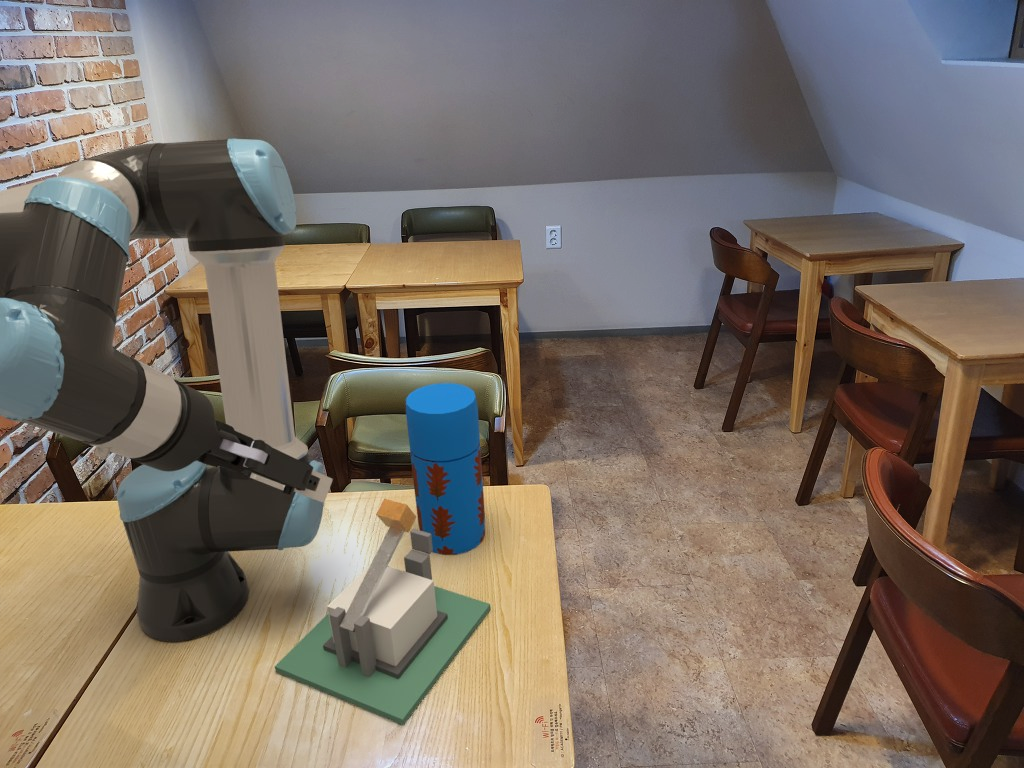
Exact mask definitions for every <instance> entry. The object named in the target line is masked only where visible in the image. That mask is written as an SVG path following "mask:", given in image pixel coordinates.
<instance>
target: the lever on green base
mask: <svg viewBox="0 0 1024 768" xmlns="http://www.w3.org/2000/svg"><path fill="white" fill-rule="evenodd" d="M409 534H410V541H411V548H412V549H411V550H410V551H409V552H408V553H407V554H406V555H405V556H404V557H403V560H404V569H405V571H404V570H401V569H397V568H395V567H393V566H387V568H386V570H385V572H384V574H383V576H382V578H381V580H380V582H379V584H378V586H377V588H376V590H375V592H374V594H373V596H372V598H371V600H370V602H369V604H368V607H367V609H366V611H365V613H364V615H363V616H361V617H360V618H359V619H358V620H357V621H356V622H355V623H354V628H355V633H354V632H351V631H349V630H346V629H343V628H341V627H340V625H341V623H342V621H343V619H344V617H345V615H346V613H347V611H348V609H349V607H350V605H351V603H352V601H353V599H354V597H355V595H356V593H357V591H358V589H359V587H360V585H361V583H362V581H363V579H364V577H365V575H366V573H367V571H368V569H369V567H370V565H371V563H370V564H368V566H367V567H366V568H364V570H362V571H361V573H359V574H358V576H356V577H355V578H354V579H353V580H352V581H351V582H350V583H349V585H347V586H346V587H345V588H344V589H343V590H342V591H341V592H340V593H339V594H338V595H337V596H336V597H335V598H334V599H333V600H332V601H331V602H329V604H327V606H326V609H327V614H326V615H325V616H324V617H322V619H321V620H320V621H319V622H318V623H317V624H316V625H314V627H313V628H312V629H310V631H309V632H308V633H306V634H305V636H304V637H303V638H301V640H299V642H298V643H297V644H295V646H293V648H292V649H291V650H289V652H287V653H286V654H285V656H283V658H282V659H281V660H279V662H277V663H276V665H274V669H275V673H277V674H280V675H282V676H284V677H287V678H289V679H291V680H294V681H296V682H298V683H301V684H304V685H305V686H308V687H311V688H313V689H315V690H318V691H320V692H323V693H324V694H327V695H330V696H332V697H334V698H337V699H339V700H342V701H344V702H345V703H346V702H347V703H348V704H351V705H353V706H356V707H358V708H360V709H363V710H366V711H368V712H370V713H372V714H375V715H377V716H380V717H382V718H384V719H387V720H389V721H392V722H395V724H398V725H400V726H401V725H402V726H405V724H406V723H407V721H408V720H409V719H410V717H412V715H413V713H414V712H415V711H416V709H417V708H418V707H419V705H420V704H421V702H423V700H424V699H425V697H426V696H427V695H428V693H429V692H430V690H432V688H433V687H434V685H435V684H436V683H437V682H438V680H439V679H440V677H441V676H442V675H443V673H444V672H445V671H446V669H447V668H448V667H449V665H450V664H451V663H452V662H453V660H454V659H455V658H456V656H457V655H458V654H459V652H460V651H461V650H462V648H463V647H464V646H465V644H466V643H467V641H468V640H469V639H470V638H471V637H472V635H473V634H474V633H475V631H476V630H477V628H478V627H479V626H480V625H481V623H482V621H483V620H484V619H485V617H486V616H487V615H488V614H489V612H490V611H491V609H492V607H491V603H489V602H486V601H482V600H479V599H475V598H472V597H470V596H467V595H464V594H460V593H458V592H454V591H450V590H448V589H444V588H442V587H438V586H435V581H434V580H433V576H432V573H433V572H432V565H431V556H430V555H431V554H432V553H434V552H433V546H432V537H431V534H430V533H427V532H423V531H420V530H419V529H416V528H413V529H412V528H411V529H410V531H409Z"/></svg>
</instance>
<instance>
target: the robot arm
mask: <svg viewBox="0 0 1024 768" xmlns="http://www.w3.org/2000/svg"><path fill="white" fill-rule="evenodd" d="M287 171H288V170H287V168H286V166H285V164H284V162H283V160H282V158H281V156H280V154H279V153H278V151H277V150H276V148H274V147H273V145H271V144H270V143H269V142H267V141H265V140H262V139H247V138H246V139H245V138H244V139H242V138H235V137H234V138H227V139H211V140H196V141H193V140H192V141H177V142H163V143H162V142H153V143H144V144H143V143H142V144H139V145H133V146H129V147H126V148H123V149H118V150H114V151H111V152H107V153H104V154H100V155H96V156H93V157H91V158H88V159H84V160H79V161H76V162H73V163H71V164H69V165H67V166H66V167H64V168H63V169H62V170H61V171H60V172H59V173H58V175H57V176H53V177H49V178H46V179H43V180H39V181H35V182H31V183H28V184H23V185H20V186H19V185H18V186H15V187H12V188H8V189H3V190H0V416H1V417H3V418H5V419H7V420H11V421H14V422H18V423H19V422H22V423H24V424H27V425H30V426H33V427H36V428H39V429H43V430H46V431H49V432H51V433H53V434H58V435H60V436H61V435H62V436H64V437H67V438H70V439H73V440H76V441H77V442H80V443H84V444H85V445H86V444H87V445H89V446H92V447H93V446H94V447H96V448H95V450H94V455H95V456H96V457H99V458H100V459H106V458H107V457H108V455H109V454H110V453H113V454H116V455H119V456H121V457H124V458H127V459H128V458H129V460H131V461H133V462H136V463H138V464H141V465H140V466H138V467H136V468H135V469H133V470H132V471H130V473H128V474H127V475H126V476H125V477H124V478H123V479H122V481H121V482H120V484H119V485H118V487H117V491H116V500H117V504H118V505H117V506H118V509H119V518H120V520H121V521H122V524H123V527H124V530H125V533H126V536H127V540H128V543H129V546H130V548H131V551H132V555H133V558H134V561H135V565H136V567H137V570H138V574H139V582H138V591H137V592H138V593H137V594H138V595H137V596H138V597H137V603H136V615H137V618H138V621H139V625H140V628H141V629H143V630H142V631H143V632H144V633H145V634H146V635H147V636H149V637H150V638H152V639H155V640H158V641H162V642H184V641H190V640H195V639H197V638H201V637H204V636H207V635H209V634H212V633H214V632H216V631H218V630H219V629H221V628H223V627H225V626H226V625H227V624H229V623H230V622H232V621H233V620H234V619H235V618H236V617H237V616H238V615H239V614H240V613H241V612H242V610H243V609H244V608H245V606H246V604H247V602H248V600H249V596H250V588H249V584H248V579H247V575H246V574H245V572H244V570H243V569H242V568H241V566H240V565H239V564H238V562H237V561H236V559H234V557H233V556H232V554H231V553H230V552H243V551H244V552H246V551H249V552H250V551H266V550H278V551H283V550H284V549H290V548H291V549H292V548H300V547H302V548H303V547H305V546H308V545H310V544H311V543H312V542H313V541H314V539H315V538H316V536H317V534H318V532H319V529H320V526H321V522H322V517H323V512H324V506H325V505H324V504H325V502H326V499H327V496H328V493H329V491H330V489H331V486H332V483H333V480H334V478H332V477H329V476H327V475H326V473H325V469H324V465H323V463H322V462H321V461H317V460H315V459H314V460H310V457H309V455H310V454H309V449H308V445H307V444H305V443H304V442H303V441H301V440H300V439H298V438H297V437H296V433H295V426H294V417H293V410H292V409H293V408H292V399H291V392H290V384H289V382H290V381H289V373H288V367H287V366H288V364H287V359H286V358H287V357H286V349H285V348H286V347H285V340H284V333H283V332H284V331H283V321H282V314H281V313H282V312H281V305H280V296H279V287H278V280H277V279H278V278H277V272H276V271H277V270H276V262H277V258H278V257H279V256H280V255H281V253H282V252H283V251H284V250H285V249H286V244H285V236H288V234H292V233H293V232H294V231H295V229H296V226H297V215H296V214H297V207H296V200H295V195H294V190H293V186H292V184H291V179H290V176H289V174H288V172H287ZM142 239H144V240H146V239H147V240H149V239H153V240H154V239H155V240H156V239H157V240H158V239H164V240H167V239H173V240H174V239H176V240H177V239H187V246H188V251H189V255H191V256H192V257H193V258H194V259H195V260H197V261H198V262H200V264H201V265H202V266H203V267H204V274H205V279H206V289H207V295H208V303H209V308H210V309H209V311H210V317H211V325H212V331H213V332H212V333H213V338H214V346H215V354H216V361H217V369H218V374H219V375H218V376H219V384H220V390H221V397H222V405H223V413H224V419H225V422H222V421H220V420H216V413H215V409H214V407H213V404H212V402H211V401H210V399H209V398H208V397H207V396H206V395H205V394H204V393H202V391H198V390H196V389H195V388H193V387H191V386H189V385H187V384H184V383H183V382H180V381H179V380H177V379H173V377H171V376H170V375H168V374H165V373H164V372H161V371H160V370H158V369H156V368H154V367H153V366H150V365H148V364H146V363H144V362H142V361H140V360H139V359H137V358H135V357H132V356H129V355H127V354H125V353H123V352H122V351H121V350H119V349H116V348H114V344H113V343H114V338H115V332H116V324H117V317H118V313H119V307H120V302H121V296H122V292H123V291H122V288H123V284H124V279H125V273H126V269H127V264H128V262H129V260H130V258H131V255H130V240H142Z"/></svg>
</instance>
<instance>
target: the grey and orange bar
mask: <svg viewBox="0 0 1024 768" xmlns="http://www.w3.org/2000/svg"><path fill="white" fill-rule="evenodd" d="M375 515H376V517H378V519H380V521H381V522H382V523H383V524H384V525H385V526H386V527H387V528H388V529H387V532H386V534H385V536H384V538H383V540H382V541H381V543H380V546H379V547H378V550H377V552H376V554H375V555H374V557H373V560H372V562H371V563H370V564H371V565H370V564H369V565H370V567H369V569H368V571H367V573H366V575H365V577H364V579H363V581H362V583H361V585H360V587H359V589H358V591H357V593H356V595H355V597H354V599H353V601H352V603H351V605H350V607H349V609H348V611H347V613H346V615H345V617H344V619H343V621H342V623H341V625H340V627H341V628H343V629H346V630H349V631H351V632H354V633H355V628H354V623H355V622H356V621H357V620H358V619H359V618H360V617H361V616H363V615H364V613H365V611H366V609H367V607H368V604H369V602H370V600H371V598H372V596H373V594H374V592H375V590H376V588H377V586H378V584H379V582H380V580H381V578H382V576H383V574H384V572H385V570H386V568H387V566H388V565H389V564H390V562H391V559H392V558H393V556H394V554H395V551H396V550H397V548H398V545H399V544H400V542H401V539H402V537H403V536H404V533H409V534H410V531H411V530H412V527H413V525H414V522H415V521H416V519H417V516H416V515H417V514H415V513H414V512H413V510H412V509H411V507H410V506H409V505H408V504H406V503H402V502H398V501H396V500H393V499H392V500H391V499H387V498H384V499H383V501H382V502H381V503H380V507H379V508H378V510H377V512H376V514H375Z"/></svg>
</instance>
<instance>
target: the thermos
mask: <svg viewBox="0 0 1024 768" xmlns="http://www.w3.org/2000/svg"><path fill="white" fill-rule="evenodd" d="M475 393H476V392H475V391H474V389H472V388H470V386H466V385H463V384H460V383H452V382H444V383H441V382H439V383H433V384H427V385H425V386H422V387H419V388H416V389H415V390H413V391H412V392H410V393H409V394H408V396H407V397H406V398H405V416H406V425H407V433H408V442H409V443H408V445H409V452H410V461H411V472H412V480H413V488H414V497H415V499H414V500H415V504H416V515H417V516H416V518H417V523H418V528H419V529H418V530H420V531H423V532H427V533H430V534H431V537H432V546H433V552H432V553H434V554H438V555H443V556H444V555H445V556H449V555H453V556H455V555H460V554H464V553H468V552H469V551H472V550H473V549H476V548H477V547H478V546H479V545H480V544H481V543H482V542H483V540H484V538H485V534H486V513H485V512H486V511H485V496H484V494H485V493H484V481H483V466H482V465H483V464H482V451H481V438H480V423H479V421H480V419H479V408H478V407H479V406H478V403H477V398H476V397H477V396H476V394H475Z"/></svg>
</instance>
